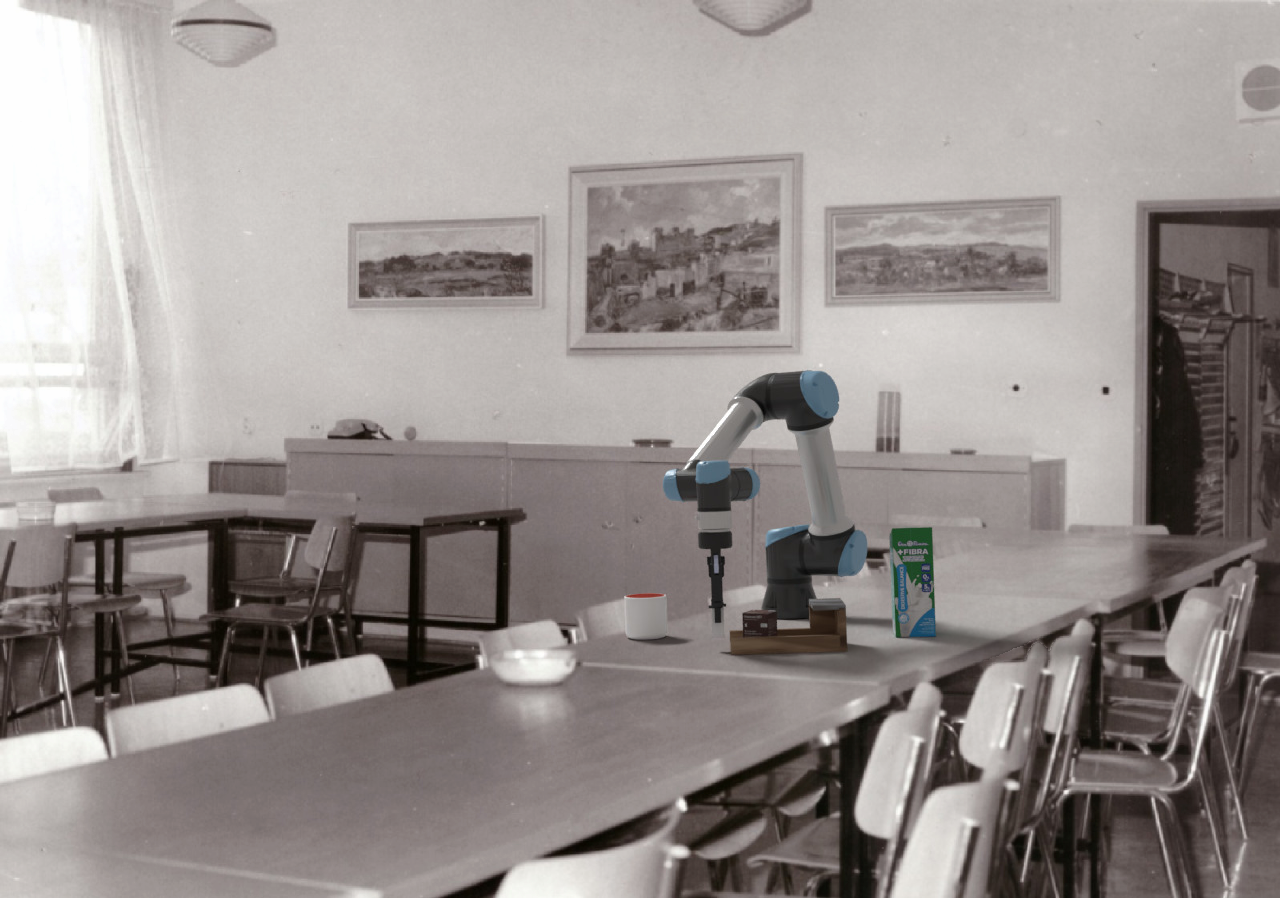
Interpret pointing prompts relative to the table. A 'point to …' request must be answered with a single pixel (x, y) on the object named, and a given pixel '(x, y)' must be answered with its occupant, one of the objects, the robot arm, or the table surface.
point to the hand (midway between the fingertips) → (718, 637)
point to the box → (759, 623)
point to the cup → (646, 616)
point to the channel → (801, 633)
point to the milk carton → (912, 582)
